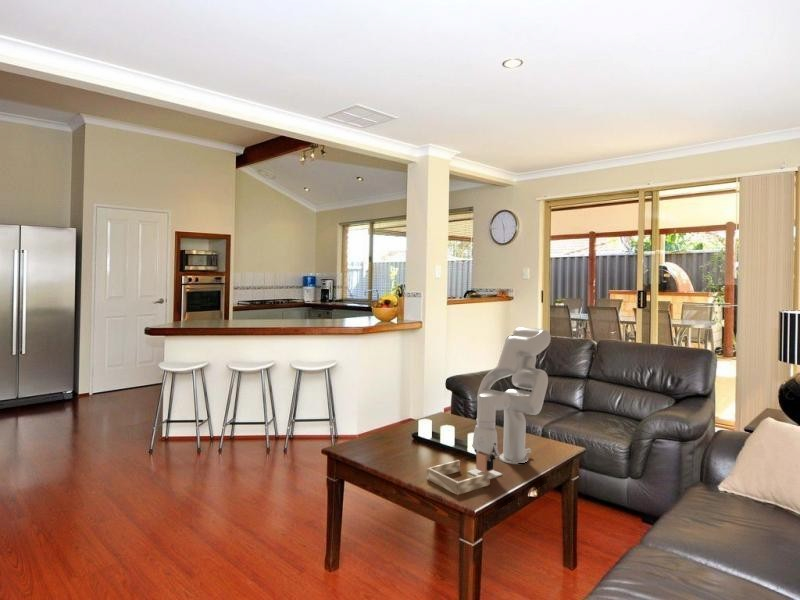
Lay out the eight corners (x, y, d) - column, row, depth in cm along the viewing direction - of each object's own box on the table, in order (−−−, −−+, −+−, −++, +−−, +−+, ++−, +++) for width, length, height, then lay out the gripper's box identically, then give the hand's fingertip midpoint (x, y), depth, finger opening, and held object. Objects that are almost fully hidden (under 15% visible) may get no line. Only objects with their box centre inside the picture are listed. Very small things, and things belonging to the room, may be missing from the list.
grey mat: (484, 467, 222) (484, 466, 222) (502, 475, 214) (502, 473, 214) (467, 472, 216) (467, 471, 216) (484, 480, 208) (484, 479, 208)
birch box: (458, 470, 218) (458, 459, 218) (489, 484, 204) (489, 473, 203) (426, 479, 208) (427, 468, 208) (457, 495, 194) (457, 483, 193)
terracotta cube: (484, 466, 218) (485, 449, 218) (493, 470, 214) (494, 453, 214) (476, 468, 215) (476, 452, 215) (485, 472, 211) (485, 455, 211)
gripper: (465, 420, 218) (464, 463, 219) (495, 430, 205) (493, 476, 206) (477, 417, 223) (476, 459, 224) (508, 427, 209) (506, 472, 210)
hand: (484, 467), depth 215 cm, fingers closed on terracotta cube, 4 cm apart
